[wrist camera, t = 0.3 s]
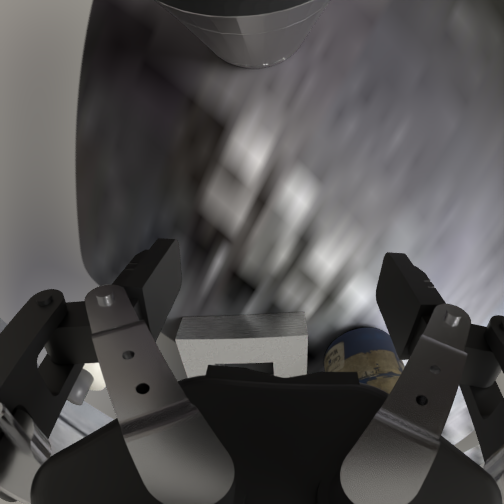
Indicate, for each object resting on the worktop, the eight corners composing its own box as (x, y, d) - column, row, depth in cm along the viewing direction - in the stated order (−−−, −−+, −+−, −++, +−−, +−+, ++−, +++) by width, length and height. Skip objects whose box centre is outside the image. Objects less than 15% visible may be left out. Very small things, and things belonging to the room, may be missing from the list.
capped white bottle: (104, 288, 35) (43, 377, 22) (136, 287, 35) (81, 385, 21) (115, 318, 37) (65, 409, 24) (146, 318, 37) (102, 416, 23)
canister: (395, 360, 39) (434, 471, 22) (331, 382, 41) (349, 499, 24) (386, 310, 35) (440, 437, 19) (312, 337, 37) (330, 473, 21)
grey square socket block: (182, 316, 36) (175, 339, 33) (304, 311, 35) (307, 335, 32) (204, 391, 42) (200, 413, 39) (302, 389, 41) (304, 411, 38)
